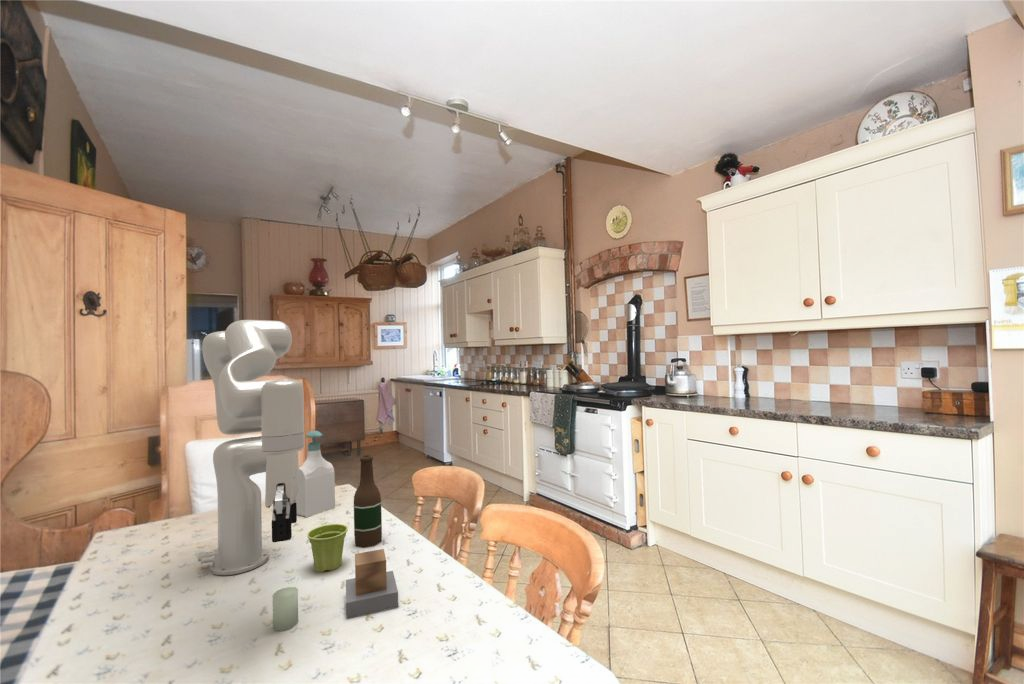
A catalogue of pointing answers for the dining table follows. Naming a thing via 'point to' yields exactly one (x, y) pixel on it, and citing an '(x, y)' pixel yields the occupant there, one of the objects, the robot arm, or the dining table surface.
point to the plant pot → (327, 546)
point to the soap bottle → (315, 481)
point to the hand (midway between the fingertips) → (285, 531)
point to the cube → (370, 572)
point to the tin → (285, 608)
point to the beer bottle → (367, 507)
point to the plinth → (371, 598)
